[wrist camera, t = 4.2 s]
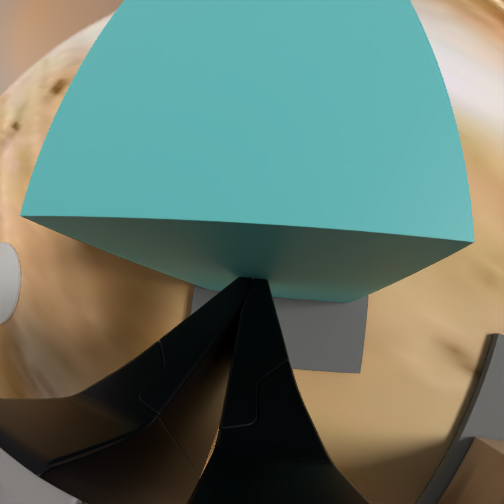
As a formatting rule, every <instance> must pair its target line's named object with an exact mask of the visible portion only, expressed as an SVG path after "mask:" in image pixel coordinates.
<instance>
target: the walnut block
mask: <svg viewBox="0 0 504 504" xmlns="http://www.w3.org/2000/svg"><path fill="white" fill-rule="evenodd" d="M437 504H504V440H496V439H488V438H481V437H475V438H474V440H473V442H472V444H471V446H470V448H469V450H468V452H467V454H466V456H465V458H464V459H463V461H462V463H461V465H460V467H459V468H458V470H457V472H456V474H455V475H454V477H453V479H452V480H451V482H450V484H449V485H448V487H447V488H446V490H445V492H444V493H443V495H442V496H441V498H440V499H439V501H438V502H437Z"/></svg>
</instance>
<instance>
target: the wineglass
mask: <svg viewBox="0 0 504 504" xmlns="http://www.w3.org/2000/svg"><path fill="white" fill-rule="evenodd" d="M20 285H21V269H20V261H19V258H18V254H17V252H16V250H15V248H14V247H13V246H12V245H11V244H8V243H5V242H3V243H0V324H2V323H5V322H6V321H7V320H8V319H10V317H11V315H12V314H13V312H14V310H15V307H16V305H17V302H18V297H19V293H20Z"/></svg>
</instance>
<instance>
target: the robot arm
mask: <svg viewBox="0 0 504 504" xmlns="http://www.w3.org/2000/svg"><path fill="white" fill-rule="evenodd" d="M289 361H290V360H289V356H288V352H287V349H286V345H285V341H284V337H283V334H282V330H281V326H280V323H279V319H278V315H277V312H276V308H275V304H274V301H273V297H272V293H271V290H270V286H269V282H268V280H267V279H259V278H254V279H252V278H249V277H238V278H236V279H235V280H234V281H233V282H231V283H230V284H229V285H228V286H226V287H225V288H224V289H223V290H221V291H220V292H219V293H218V294H216V295H215V296H214V297H213V298H211V299H210V300H209V301H208V302H206V303H205V304H204V305H203V306H201V307H200V308H199V309H198V310H196V311H195V312H194V313H193V314H191V315H190V316H189V317H187V318H186V319H185V320H184V321H182V322H181V323H180V324H179V325H177V326H176V327H175V328H174V329H172V330H171V331H170V332H169V333H167V334H166V335H165V336H163V337H162V338H161V339H160V340H159V341H157V342H156V343H154V344H153V345H152V346H151V347H149V348H148V349H147V350H145V351H144V352H143V353H141V354H140V355H139V356H137V357H136V358H135V359H133V360H132V361H130V362H129V363H127V364H125V365H124V366H122V367H121V368H119V369H118V370H116V371H115V372H113V373H111V374H110V375H108V376H107V377H105V378H103V379H102V380H100V381H98V382H97V383H95V384H93V385H92V386H90V387H89V388H87V389H85V390H83V391H82V392H80V393H77V394H75V395H72V396H69V397H64V398H50V399H1V398H0V504H372V503H371V502H370V501H369V500H368V499H367V498H366V497H365V496H364V495H363V494H362V493H361V492H360V491H359V490H358V489H357V488H356V487H355V486H354V484H353V483H352V482H351V481H350V480H349V479H348V478H347V477H346V476H345V475H344V474H343V473H342V472H341V471H340V470H339V468H338V467H337V466H336V465H335V464H334V462H333V461H332V459H331V458H330V456H329V454H328V453H327V451H326V449H325V447H324V445H323V443H322V441H321V439H320V437H319V435H318V432H317V430H316V428H315V426H314V424H313V422H312V419H311V417H310V415H309V413H308V411H307V409H306V406H305V404H304V402H303V399H302V397H301V394H300V392H299V389H298V387H297V383H296V380H295V377H294V374H293V370H292V367H291V363H290V362H289ZM219 425H220V426H219ZM218 427H219V432H218V437H217V441H216V445H215V448H214V451H213V453H212V456H211V458H210V460H209V462H208V464H207V466H206V468H205V470H204V472H203V474H202V471H203V468H204V466H205V463H206V460H207V458H208V455H209V452H210V449H211V447H212V444H213V441H214V439H215V436H216V433H217V430H218ZM201 474H202V475H201ZM200 476H201V477H200Z"/></svg>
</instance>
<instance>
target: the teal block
mask: <svg viewBox="0 0 504 504" xmlns="http://www.w3.org/2000/svg"><path fill="white" fill-rule="evenodd" d="M20 216H22V217H24V218H26V219H28V220H31V221H33V222H35V223H38V224H40V225H42V226H45V227H47V228H49V229H52V230H54V231H56V232H59V233H61V234H64V235H66V236H68V237H71V238H73V239H76V240H78V241H80V242H83V243H85V244H88V245H90V246H93V247H95V248H98V249H100V250H103V251H105V252H108V253H111V254H113V255H116V256H118V257H121V258H123V259H126V260H129V261H131V262H134V263H137V264H139V265H142V266H144V267H147V268H150V269H153V270H155V271H158V272H161V273H163V274H166V275H169V276H172V277H174V278H177V279H180V280H183V281H186V282H188V283H191V284H194V285H197V286H200V287H203V288H206V289H209V290H213V291H221V290H223V289H224V288H225V287H226V286H228V285H229V284H230V283H231V282H233V281H234V280H235V279H236V278H238V277H249V278H252V279H254V278H259V279H267V280H268V282H269V286H270V290H271V293H272V297H280V298H291V299H302V300H314V301H327V302H340V303H350V302H353V301H355V300H357V299H360V298H362V297H364V296H366V295H369V294H371V293H373V292H375V291H378V290H380V289H382V288H384V287H386V286H389V285H391V284H393V283H395V282H397V281H399V280H401V279H404V278H406V277H408V276H410V275H412V274H414V273H416V272H418V271H420V270H422V269H424V268H426V267H428V266H430V265H432V264H434V263H436V262H438V261H440V260H442V259H444V258H446V257H448V256H450V255H452V254H453V253H455V252H457V251H459V250H461V249H463V248H465V247H466V246H468V245H470V244H472V243H474V229H473V218H472V208H471V200H470V192H469V185H468V179H467V173H466V167H465V161H464V156H463V151H462V146H461V142H460V137H459V133H458V129H457V125H456V121H455V117H454V113H453V110H452V106H451V103H450V99H449V96H448V93H447V89H446V86H445V83H444V80H443V77H442V74H441V71H440V69H439V66H438V63H437V60H436V58H435V55H434V53H433V50H432V47H431V45H430V43H429V40H428V38H427V35H426V33H425V31H424V29H423V26H422V24H421V22H420V20H419V18H418V16H417V13H416V11H415V9H414V7H413V5H412V3H411V1H410V0H124V1H123V3H122V4H121V5H120V7H119V8H118V9H117V11H116V12H115V13H114V15H113V16H112V17H111V19H110V20H109V22H108V23H107V25H106V26H105V28H104V29H103V30H102V32H101V33H100V35H99V37H98V38H97V40H96V41H95V43H94V44H93V46H92V48H91V49H90V51H89V52H88V54H87V56H86V57H85V59H84V61H83V63H82V64H81V66H80V68H79V70H78V71H77V73H76V75H75V77H74V79H73V81H72V82H71V84H70V86H69V88H68V90H67V92H66V94H65V96H64V98H63V100H62V102H61V104H60V106H59V109H58V111H57V113H56V115H55V117H54V120H53V122H52V124H51V126H50V129H49V131H48V133H47V136H46V138H45V141H44V143H43V146H42V148H41V151H40V154H39V156H38V159H37V162H36V165H35V168H34V171H33V173H32V176H31V180H30V183H29V186H28V189H27V192H26V196H25V199H24V203H23V206H22V210H21V214H20Z"/></svg>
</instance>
